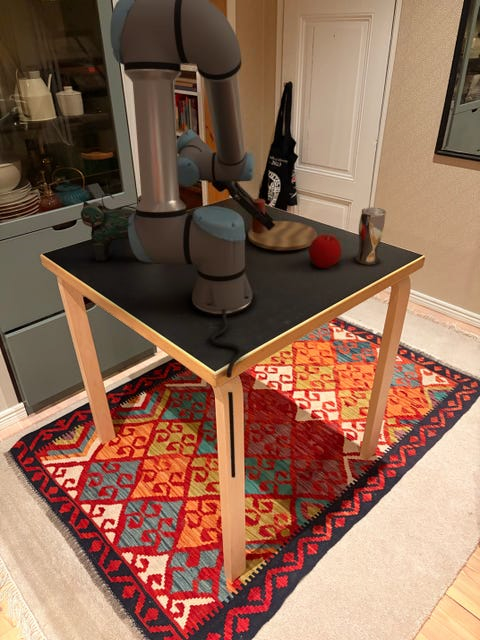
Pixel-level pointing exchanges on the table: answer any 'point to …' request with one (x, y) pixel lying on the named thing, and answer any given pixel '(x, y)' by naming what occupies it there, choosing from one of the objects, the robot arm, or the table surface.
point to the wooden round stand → (280, 233)
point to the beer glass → (370, 234)
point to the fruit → (325, 251)
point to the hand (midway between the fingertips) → (270, 224)
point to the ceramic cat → (106, 225)
